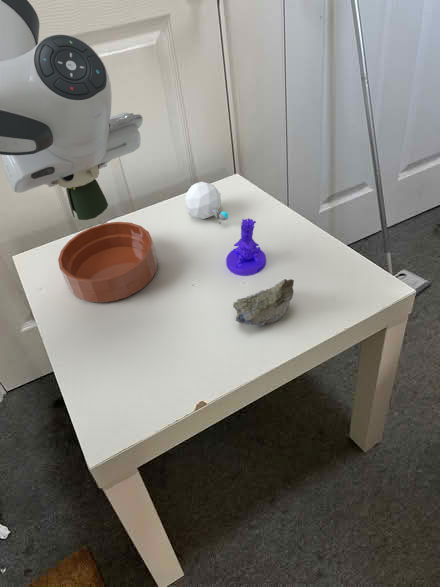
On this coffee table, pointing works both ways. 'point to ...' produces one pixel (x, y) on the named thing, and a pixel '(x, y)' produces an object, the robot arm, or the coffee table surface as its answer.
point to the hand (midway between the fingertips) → (76, 172)
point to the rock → (265, 304)
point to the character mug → (84, 193)
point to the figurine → (246, 252)
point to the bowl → (108, 261)
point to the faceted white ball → (204, 201)
